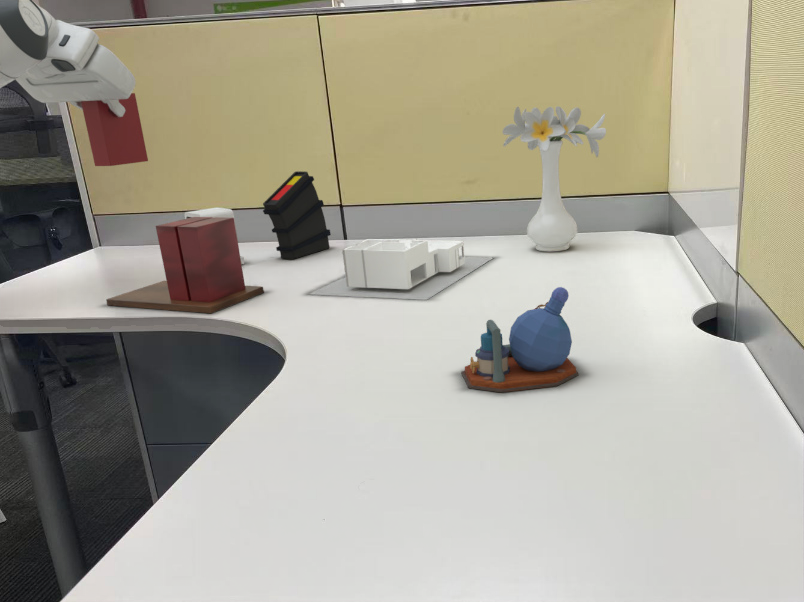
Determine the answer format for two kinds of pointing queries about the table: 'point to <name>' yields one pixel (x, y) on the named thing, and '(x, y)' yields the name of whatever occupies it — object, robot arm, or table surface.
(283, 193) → the magazine
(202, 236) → the book rack
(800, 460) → the table surface
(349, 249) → the house
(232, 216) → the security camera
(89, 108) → the book
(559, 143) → the flower vase
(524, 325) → the model
